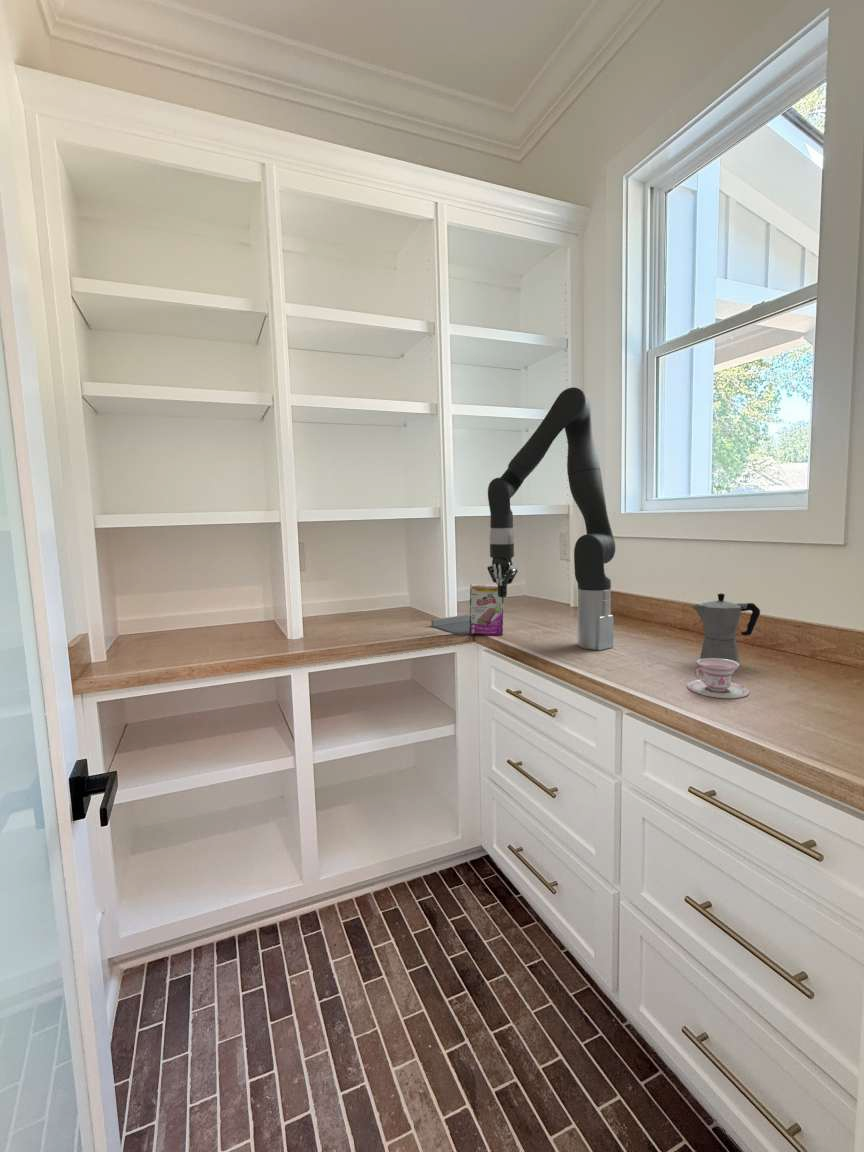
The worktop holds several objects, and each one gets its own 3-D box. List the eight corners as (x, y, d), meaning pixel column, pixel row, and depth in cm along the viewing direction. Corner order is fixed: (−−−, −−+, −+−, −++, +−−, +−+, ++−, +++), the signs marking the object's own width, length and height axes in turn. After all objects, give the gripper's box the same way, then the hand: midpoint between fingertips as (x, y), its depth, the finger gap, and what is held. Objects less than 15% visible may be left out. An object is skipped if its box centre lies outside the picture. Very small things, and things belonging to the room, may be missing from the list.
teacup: (727, 680, 122) (728, 654, 121) (761, 698, 110) (763, 669, 109) (676, 683, 122) (677, 656, 121) (705, 701, 110) (706, 672, 109)
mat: (499, 629, 184) (499, 622, 184) (461, 635, 176) (461, 628, 176) (467, 620, 201) (467, 614, 200) (431, 626, 192) (431, 619, 192)
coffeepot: (694, 667, 133) (696, 596, 131) (687, 657, 142) (688, 590, 140) (764, 669, 129) (767, 596, 127) (752, 659, 138) (754, 591, 136)
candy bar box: (469, 635, 175) (469, 586, 173) (469, 631, 180) (470, 583, 178) (503, 635, 174) (504, 586, 172) (502, 631, 179) (503, 584, 177)
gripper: (524, 542, 162) (525, 598, 165) (498, 541, 174) (498, 593, 176) (505, 543, 159) (505, 600, 161) (479, 542, 170) (480, 595, 172)
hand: (502, 596), depth 168 cm, fingers closed
